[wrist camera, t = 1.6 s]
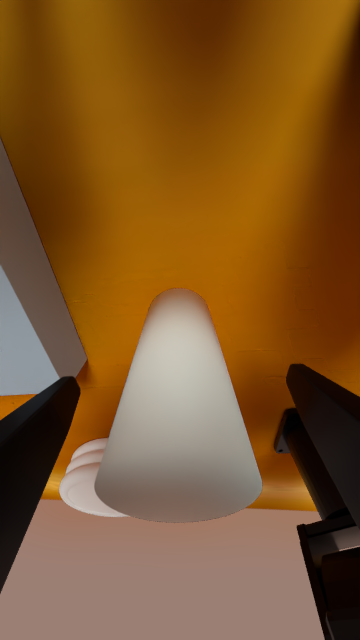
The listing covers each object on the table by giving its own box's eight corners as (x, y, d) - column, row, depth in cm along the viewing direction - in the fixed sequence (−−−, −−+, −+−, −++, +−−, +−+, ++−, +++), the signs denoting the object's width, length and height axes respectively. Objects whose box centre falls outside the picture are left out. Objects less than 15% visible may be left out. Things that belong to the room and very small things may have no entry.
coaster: (169, 477, 24) (168, 516, 21) (92, 482, 24) (80, 521, 21) (154, 430, 19) (150, 472, 16) (58, 438, 20) (36, 480, 16)
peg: (209, 340, 13) (252, 520, 6) (152, 343, 14) (116, 524, 6) (209, 286, 11) (276, 444, 4) (143, 290, 12) (69, 452, 4)
